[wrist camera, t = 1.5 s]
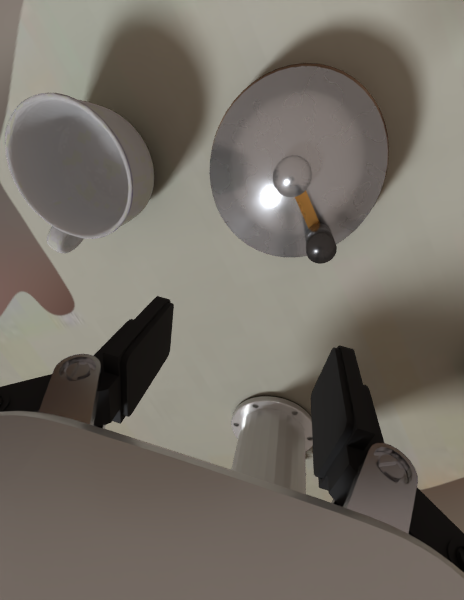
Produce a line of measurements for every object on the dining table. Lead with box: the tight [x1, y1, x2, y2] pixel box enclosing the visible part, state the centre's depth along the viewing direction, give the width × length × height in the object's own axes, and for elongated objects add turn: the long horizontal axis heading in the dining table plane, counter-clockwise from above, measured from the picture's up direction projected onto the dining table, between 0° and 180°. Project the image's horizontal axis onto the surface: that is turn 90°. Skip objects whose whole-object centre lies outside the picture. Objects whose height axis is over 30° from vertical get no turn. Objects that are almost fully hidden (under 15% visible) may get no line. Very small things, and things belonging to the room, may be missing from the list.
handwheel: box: [210, 66, 388, 263], centre depth 22 cm, size 14×14×6 cm
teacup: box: [5, 93, 154, 253], centre depth 27 cm, size 14×11×8 cm
